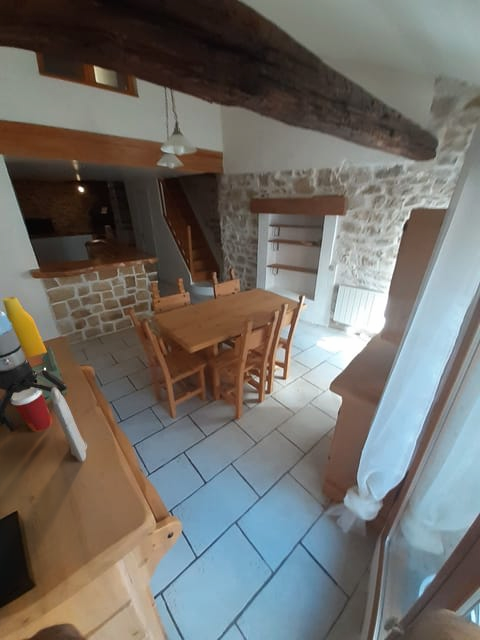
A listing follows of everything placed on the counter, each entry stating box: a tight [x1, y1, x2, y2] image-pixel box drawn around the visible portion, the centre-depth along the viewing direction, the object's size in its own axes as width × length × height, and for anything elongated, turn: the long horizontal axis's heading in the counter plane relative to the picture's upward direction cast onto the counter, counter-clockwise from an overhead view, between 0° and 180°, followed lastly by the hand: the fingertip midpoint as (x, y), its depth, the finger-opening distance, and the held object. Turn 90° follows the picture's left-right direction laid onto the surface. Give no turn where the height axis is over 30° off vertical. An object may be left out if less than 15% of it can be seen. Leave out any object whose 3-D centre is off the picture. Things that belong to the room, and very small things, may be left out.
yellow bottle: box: [2, 296, 48, 358], centre depth 109 cm, size 9×9×29 cm
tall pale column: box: [51, 387, 88, 463], centre depth 69 cm, size 11×4×22 cm, turn 40°
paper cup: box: [10, 387, 53, 433], centre depth 79 cm, size 8×8×14 cm
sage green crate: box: [26, 346, 68, 403], centre depth 94 cm, size 12×16×13 cm
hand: (38, 418), depth 81 cm, fingers open, 12 cm apart
